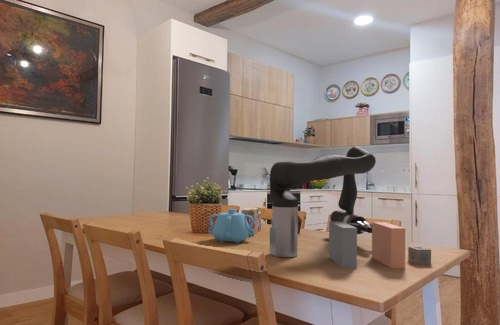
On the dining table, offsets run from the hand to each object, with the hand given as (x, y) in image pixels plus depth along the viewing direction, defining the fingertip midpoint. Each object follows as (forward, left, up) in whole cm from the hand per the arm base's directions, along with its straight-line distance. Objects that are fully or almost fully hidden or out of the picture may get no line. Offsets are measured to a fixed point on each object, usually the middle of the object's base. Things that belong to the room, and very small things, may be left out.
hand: (371, 230), depth 137 cm
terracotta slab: (-4, -14, -8) cm, 17 cm away
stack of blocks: (-28, +55, -9) cm, 63 cm away
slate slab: (-19, -10, -8) cm, 23 cm away
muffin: (-11, +47, -9) cm, 49 cm away
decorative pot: (-44, +36, -9) cm, 58 cm away
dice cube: (+6, -17, -9) cm, 20 cm away
